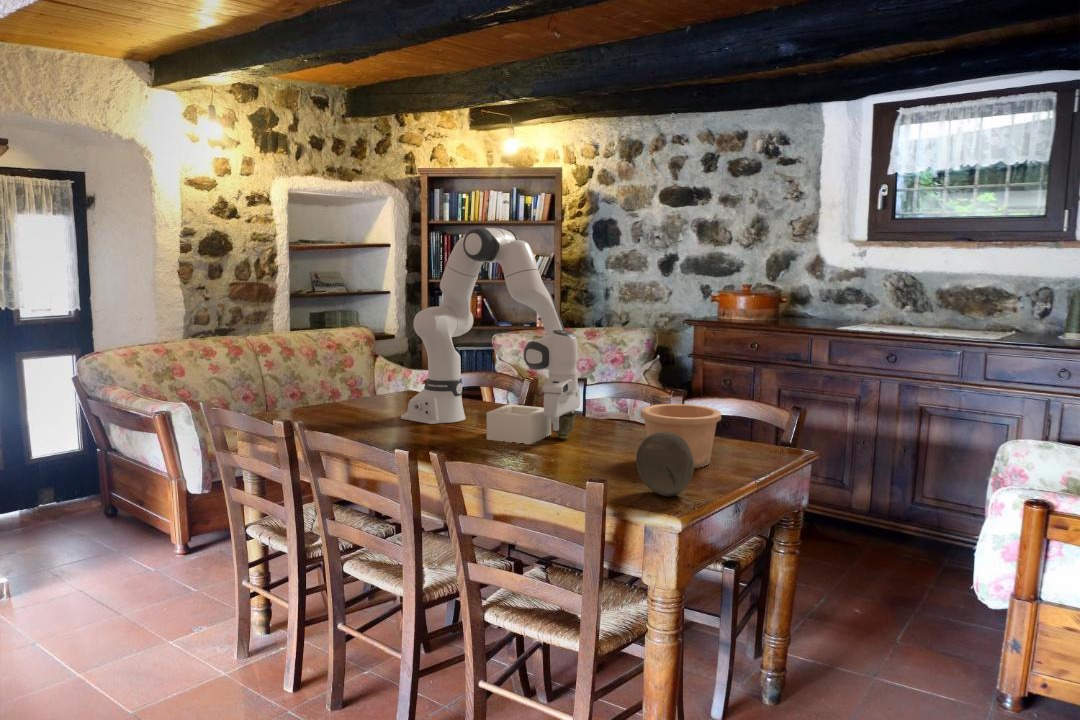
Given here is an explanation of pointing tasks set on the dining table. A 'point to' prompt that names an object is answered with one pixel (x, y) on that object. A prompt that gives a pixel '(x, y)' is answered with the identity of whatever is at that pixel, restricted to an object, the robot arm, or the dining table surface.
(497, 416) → the cream box
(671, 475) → the dark round stone
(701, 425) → the pottery
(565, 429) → the cup
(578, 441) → the dining table surface
